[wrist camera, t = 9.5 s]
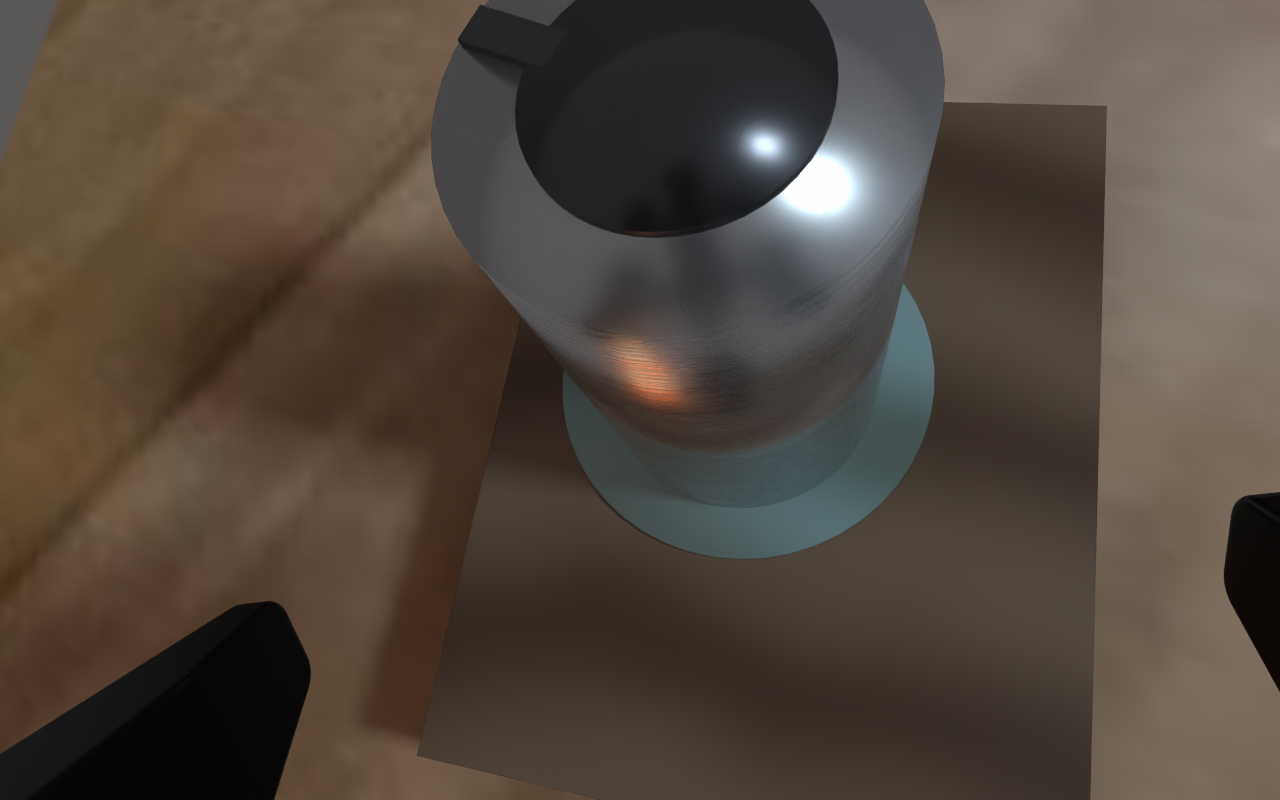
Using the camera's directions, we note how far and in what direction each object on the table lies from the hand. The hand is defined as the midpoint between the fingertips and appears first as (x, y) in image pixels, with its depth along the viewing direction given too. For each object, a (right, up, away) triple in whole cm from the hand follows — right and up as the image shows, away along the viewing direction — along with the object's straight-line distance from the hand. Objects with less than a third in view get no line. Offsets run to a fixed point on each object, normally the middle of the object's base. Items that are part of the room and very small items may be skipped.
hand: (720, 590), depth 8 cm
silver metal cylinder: (+2, +2, +12) cm, 12 cm away
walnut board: (+3, +1, +14) cm, 14 cm away
